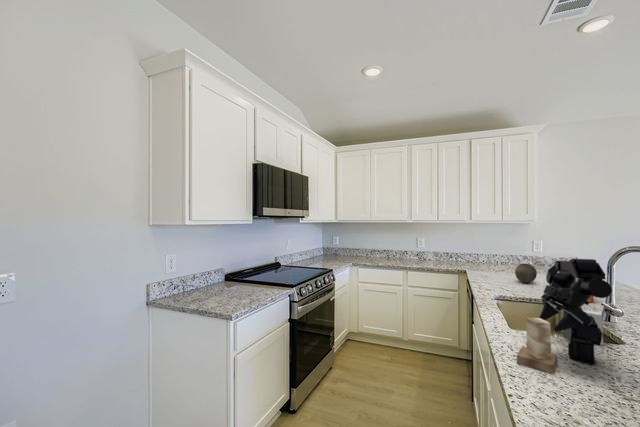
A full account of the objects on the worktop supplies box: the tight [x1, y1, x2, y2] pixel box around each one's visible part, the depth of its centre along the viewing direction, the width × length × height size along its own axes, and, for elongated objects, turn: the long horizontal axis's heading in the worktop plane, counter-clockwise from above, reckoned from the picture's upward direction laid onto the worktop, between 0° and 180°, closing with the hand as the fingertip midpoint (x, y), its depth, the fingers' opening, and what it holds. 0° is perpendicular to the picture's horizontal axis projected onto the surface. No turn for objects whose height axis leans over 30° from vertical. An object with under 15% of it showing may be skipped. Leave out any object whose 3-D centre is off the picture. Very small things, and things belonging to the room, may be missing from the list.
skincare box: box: [582, 309, 604, 346], centre depth 119 cm, size 6×4×12 cm
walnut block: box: [516, 345, 558, 375], centre depth 102 cm, size 10×10×4 cm
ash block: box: [525, 317, 552, 359], centre depth 102 cm, size 4×6×12 cm
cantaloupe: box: [514, 263, 538, 284], centre depth 226 cm, size 14×14×15 cm
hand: (547, 325), depth 103 cm, fingers open, 9 cm apart
